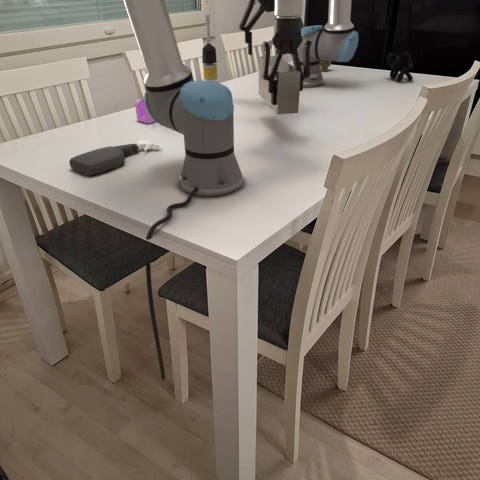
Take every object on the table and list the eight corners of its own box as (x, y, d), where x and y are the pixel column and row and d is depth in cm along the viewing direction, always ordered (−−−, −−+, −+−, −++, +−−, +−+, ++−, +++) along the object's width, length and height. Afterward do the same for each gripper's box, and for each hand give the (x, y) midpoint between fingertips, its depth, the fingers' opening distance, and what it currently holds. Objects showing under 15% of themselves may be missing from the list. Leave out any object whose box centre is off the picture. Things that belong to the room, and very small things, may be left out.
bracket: (148, 123, 152) (145, 102, 148) (137, 120, 155) (134, 100, 151) (175, 114, 161) (173, 94, 157) (164, 111, 164) (162, 92, 160)
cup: (314, 71, 219) (315, 53, 215) (319, 68, 225) (320, 51, 220) (329, 72, 216) (330, 54, 212) (333, 69, 222) (335, 52, 217)
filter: (220, 99, 177) (217, 15, 161) (206, 100, 176) (202, 16, 160) (215, 96, 182) (212, 14, 166) (202, 97, 180) (197, 14, 164)
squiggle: (400, 92, 202) (376, 71, 205) (417, 76, 202) (392, 56, 205) (405, 81, 191) (380, 59, 194) (423, 64, 191) (397, 42, 194)
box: (298, 113, 131) (300, 71, 125) (277, 114, 130) (278, 72, 124) (276, 92, 153) (277, 55, 147) (258, 93, 152) (258, 56, 146)
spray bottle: (67, 168, 120) (139, 144, 136) (91, 178, 114) (163, 151, 130) (65, 157, 118) (137, 134, 134) (89, 167, 112) (162, 142, 128)
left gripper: (317, 14, 125) (312, 97, 137) (250, 16, 122) (250, 101, 134) (326, 17, 119) (320, 104, 131) (256, 19, 116) (255, 108, 128)
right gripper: (309, -25, 136) (304, 50, 148) (228, -23, 133) (230, 53, 144) (317, -24, 130) (311, 53, 141) (232, -23, 127) (234, 57, 138)
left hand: (284, 103), depth 133 cm, fingers closed on box, 6 cm apart
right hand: (270, 53), depth 143 cm, fingers open, 13 cm apart
